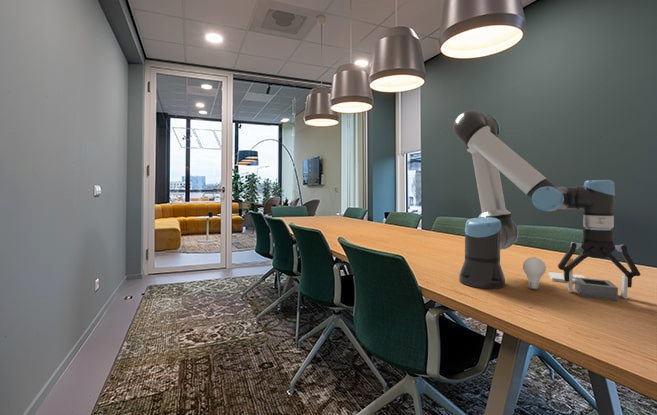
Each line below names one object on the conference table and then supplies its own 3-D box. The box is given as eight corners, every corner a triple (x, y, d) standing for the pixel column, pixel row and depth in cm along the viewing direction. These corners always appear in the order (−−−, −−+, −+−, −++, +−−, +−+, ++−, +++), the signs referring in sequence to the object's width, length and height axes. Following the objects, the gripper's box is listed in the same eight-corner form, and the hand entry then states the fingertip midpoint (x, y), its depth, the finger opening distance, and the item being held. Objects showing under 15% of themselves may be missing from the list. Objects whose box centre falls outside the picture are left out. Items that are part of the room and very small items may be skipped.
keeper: (552, 280, 120) (552, 259, 120) (548, 274, 129) (549, 254, 129) (589, 284, 115) (590, 262, 115) (583, 277, 124) (583, 257, 123)
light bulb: (543, 288, 111) (544, 256, 111) (547, 293, 105) (548, 260, 105) (521, 285, 114) (521, 254, 114) (523, 291, 108) (524, 258, 108)
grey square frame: (580, 296, 103) (580, 284, 102) (574, 288, 111) (575, 277, 110) (617, 300, 98) (618, 287, 98) (608, 292, 106) (609, 280, 106)
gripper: (552, 228, 106) (550, 292, 107) (656, 231, 94) (653, 303, 95) (549, 225, 112) (547, 286, 113) (646, 229, 101) (643, 296, 102)
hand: (596, 294), depth 104 cm, fingers open, 13 cm apart
